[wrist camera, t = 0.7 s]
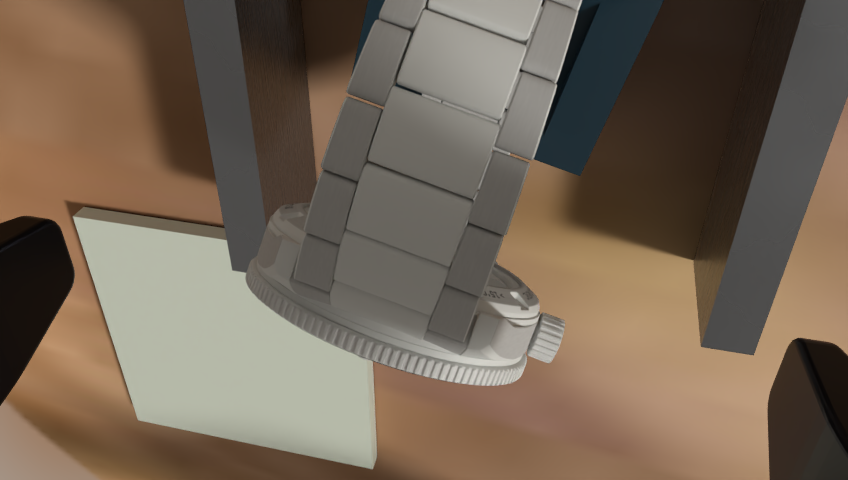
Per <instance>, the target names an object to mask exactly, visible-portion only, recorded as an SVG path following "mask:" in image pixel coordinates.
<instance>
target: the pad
mask: <svg viewBox="0 0 848 480" xmlns="http://www.w3.org/2000/svg"><path fill="white" fill-rule="evenodd" d="M73 219H74V222H75V225H76V228H77V231H78V234H79V238H80V241H81V244H82V247H83V250H84V253H85V256H86V259H87V263H88V266H89V269H90V272H91V275H92V278H93V281H94V284H95V288H96V291H97V294H98V297H99V300H100V303H101V306H102V309H103V312H104V316H105V319H106V322H107V325H108V328H109V331H110V334H111V337H112V341H113V344H114V347H115V350H116V353H117V356H118V359H119V362H120V366H121V369H122V372H123V375H124V378H125V381H126V384H127V387H128V390H129V394H130V397H131V400H132V403H133V406H134V409H135V412H136V415H137V419H138V420H139V421H144V422H149V423H153V424H158V425H163V426H168V427H173V428H177V429H182V430H187V431H192V432H197V433H201V434H206V435H211V436H216V437H220V438H225V439H230V440H235V441H240V442H244V443H249V444H254V445H259V446H263V447H268V448H273V449H278V450H283V451H287V452H292V453H297V454H302V455H307V456H311V457H316V458H321V459H326V460H330V461H335V462H340V463H345V464H350V465H354V466H359V467H364V468H369V469H373V467H374V464H375V462H376V459H377V442H376V421H375V399H374V378H373V361H371V360H370V361H368V360H364V359H362V358H360V357H359V356H358V355H356V354H353V353H350V352H348V351H346V350H343V349H341V348H339V347H336V346H334V345H332V344H330V343H328V342H326V341H323V340H321V339H319V338H317V337H315V336H313V335H311V334H310V333H308V332H306V331H304V330H302V329H300V328H299V327H297V326H295V325H293V324H292V323H290V322H289V321H287V320H285V319H284V318H282V317H281V316H279V315H278V314H276V313H275V312H274V311H272V310H271V309H270V308H268V307H267V306H266V305H265V304H263V303H262V302H261V301H260V300H259V299H258V298H257V297H256V296H255V295H254V294H253V293H252V292H251V291H250V289H249V288H248V286H247V283H246V280H245V279H246V278H245V277H246V273H244V272H238V271H232V267H231V261H230V256H229V250H228V244H227V239H226V233H225V228H220V227H214V226H207V225H200V224H194V223H187V222H181V221H174V220H167V219H161V218H154V217H148V216H141V215H134V214H128V213H121V212H115V211H108V210H101V209H95V208H88V207H83V208H82V209H81V210H79V211H78V212H77V213H76V214H75V215H74V216H73Z"/></svg>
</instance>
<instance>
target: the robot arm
mask: <svg viewBox="0 0 848 480" xmlns="http://www.w3.org/2000/svg"><path fill="white" fill-rule="evenodd" d="M74 277H75V272H74V267H73V264H72V261H71V258H70V255H69V252H68V249H67V246H66V243H65V240H64V237H63V234H62V231H61V228H60V227H59V225H58V224H57V223H56V222H55V221H52V220H50V219H45V218H39V217H33V216H21V217H17V218H15V219H12V220H9V221H6V222H3V223H0V406H1V404H2V403H3V401H4V400H5V399H6V397H7V396H8V394H9V393H10V391H11V390H12V388H13V387H14V386H15V384H16V383H17V381H18V379H19V378H20V376H21V374H22V373H23V371H24V370H25V368H26V366H27V365H28V363H29V361H30V359H31V358H32V356H33V354H34V353H35V351H36V349H37V347H38V346H39V344H40V342H41V340H42V339H43V337H44V335H45V334H46V332H47V330H48V328H49V327H50V325H51V323H52V321H53V320H54V318H55V316H56V315H57V313H58V311H59V309H60V308H61V306H62V304H63V302H64V301H65V299H66V297H67V296H68V294H69V292H70V290H71V288H72V286H73V283H74ZM768 440H769V472H770V480H848V355H847V354H846V353H845V352H844V351H843V350H842V349H841V348H839V347H838V346H837V345H835V344H833V343H830V342H824V341H817V340H811V339H805V338H797V339H795V340H793V341H792V342H791V343H790V344H789V346H788V348H787V350H786V353H785V355H784V358H783V360H782V363H781V365H780V368H779V370H778V373H777V375H776V378H775V380H774V383H773V386H772V388H771V391H770V395H769V400H768Z"/></svg>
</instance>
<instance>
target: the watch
mask: <svg viewBox="0 0 848 480" xmlns="http://www.w3.org/2000/svg"><path fill="white" fill-rule="evenodd" d="M663 1H664V0H368V4H367V9H366V13H365V18H364V22H363V27H362V31H361V36H360V40H359V45H358V49H357V54H356V58H355V63H354V67H353V72H352V76H351V79H350V81H349V84H348V87H347V93H348V94H350V95H353V96H356V97H359V98H361V99H364V100H367V101H370V102H372V103H375V104H378V105H381V106H384V109H383V110H382V109H381V108H378V107H375V106H372V105H370V104H367V103H364V102H362V101H359V100H356V99H353V98H351V97H346V98H345V100H344V102H343V104H342V107H341V110H340V112H339V115H338V118H337V121H336V123H335V126H334V129H333V132H332V134H331V137H330V140H329V143H328V146H327V149H326V152H325V155H324V158H323V161H322V164H321V167H322V169H323V170H322V171H321V173H320V175H319V178H318V181H317V184H316V187H315V191H314V194H313V197H312V201H311V203H297V204H287V205H283V206H281V207H280V208H279V209H278V210H277V211H276V212H275V213H274V214H273V215H272V216H271V217H270V220H269V223H268V225H267V227H266V230H265V233H264V236H263V239H262V242H261V245H260V248H259V251H258V255H257V256H256V257H255V258H253V259H252V260H251V261H250V264H249V267H248V270H247V273H246V277H245V278H246V279H245V280H246V283H247V286H248V288H249V289H250V291H251V292H252V293H253V294H254V295H255V296H256V297H257V298H258V299H259V300H260V301H261V302H262V303H263V304H265V305H266V306H267V307H268V308H270V309H271V310H272V311H274V312H275V313H276V314H278V315H279V316H281V317H282V318H284V319H285V320H287V321H289V322H290V323H292V324H293V325H295V326H297V327H299V328H300V329H302V330H304V331H306V332H308V333H310V334H311V335H313V336H315V337H317V338H319V339H321V340H323V341H326V342H328V343H330V344H332V345H334V346H336V347H339V348H341V349H343V350H346V351H348V352H350V353H353V354H356V355H358V356H359V357H360V358H362V359H364V360H368V361H370V360H371V361H374V362H377V363H380V364H383V365H386V366H389V367H392V368H395V369H398V370H402V371H405V372H409V373H412V374H416V375H420V376H424V377H428V378H433V379H438V380H442V381H448V382H454V383H461V384H470V385H485V386H489V385H490V386H494V385H503V384H509V383H512V382H515V381H516V380H518V379H519V378H520V377H521V375H522V373H523V370H524V368H525V365H526V362H527V357H526V354H525V352H526V350H527V355H528V356H530V357H533V358H536V359H538V360H541V361H544V362H546V363H550V362H551V361H552V359H553V358H554V356H555V354H556V352H557V350H558V348H559V346H560V343H561V340H562V336H563V332H564V327H565V321H564V320H562V319H560V318H557V317H554V316H552V315H549V314H546V313H542V314H541V315H540V312H539V309H540V307H539V299H538V298H537V296H536V295H535V294H534V293H533V292H532V291H531V290H530V289H529V288H528V287H527V286H526V285H525V284H524V283H523V282H522V281H521V280H520V279H519V278H518V277H517V276H515V275H514V274H513V273H511V272H510V271H508V270H506V269H505V268H503V267H501V266H499V265H498V264H497V262H496V258H497V255H498V252H499V249H500V246H501V244H502V241H503V237H504V235H506V234H507V231H508V228H509V226H510V223H511V220H512V217H513V214H514V211H515V208H516V205H517V202H518V199H519V196H520V193H521V190H522V187H523V184H524V181H525V178H526V175H527V172H528V169H529V166H530V164H529V162H526V161H523V160H520V159H518V158H515V157H512V156H510V153H512V154H515V155H518V156H520V157H523V158H526V159H529V160H533V159H535V160H537V161H540V162H543V163H546V164H548V165H551V166H554V167H557V168H559V169H562V170H565V171H568V172H570V173H573V174H576V175H579V176H580V175H581V173H582V171H583V169H584V166H585V164H586V162H587V160H588V158H589V156H590V154H591V152H592V150H593V148H594V146H595V143H596V141H597V139H598V137H599V135H600V133H601V131H602V129H603V127H604V125H605V123H606V120H607V118H608V116H609V114H610V112H611V110H612V108H613V106H614V104H615V102H616V100H617V97H618V95H619V93H620V91H621V89H622V87H623V85H624V83H625V81H626V79H627V77H628V74H629V72H630V70H631V68H632V66H633V64H634V62H635V60H636V58H637V56H638V54H639V51H640V49H641V47H642V45H643V43H644V41H645V39H646V37H647V35H648V33H649V30H650V28H651V26H652V24H653V22H654V20H655V18H656V16H657V14H658V12H659V10H660V7H661V5H662V3H663ZM492 150H494V151H493V152H492ZM368 161H369V162H368ZM375 163H376V164H375ZM383 166H384V167H383ZM527 348H528V349H527Z"/></svg>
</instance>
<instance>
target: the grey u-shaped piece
mask: <svg viewBox="0 0 848 480" xmlns="http://www.w3.org/2000/svg"><path fill="white" fill-rule="evenodd" d="M183 1H184V6H185V12H186V17H187V23H188V28H189V34H190V40H191V45H192V51H193V56H194V62H195V67H196V73H197V78H198V84H199V89H200V95H201V100H202V106H203V112H204V117H205V123H206V128H207V134H208V139H209V145H210V150H211V156H212V161H213V167H214V172H215V178H216V184H217V189H218V195H219V200H220V206H221V211H222V217H223V222H224V228H225V233H226V239H227V244H228V250H229V256H230V261H231V267H232V271H238V272H244V273H247V270H248V267H249V264H250V261H251V260H252V259H253V258H255V257H256V256H257V255H258V251H259V248H260V245H261V242H262V239H263V236H264V233H265V230H266V227H267V225H268V223H269V220H270V217H271V216H272V215H273V214H274V213H275V212H276V211H277V210H278V209H279V208H280V207H281V206H283V205H287V204H297V203H311V201H312V197H313V194H314V191H315V187H316V184H317V181H316V170H315V159H314V147H313V136H312V125H311V114H310V103H309V92H308V81H307V69H306V58H305V47H304V36H303V25H302V14H301V2H300V0H183ZM847 96H848V0H764V4H763V7H762V11H761V15H760V18H759V22H758V26H757V29H756V33H755V37H754V40H753V44H752V48H751V51H750V55H749V59H748V63H747V66H746V70H745V74H744V77H743V81H742V85H741V88H740V92H739V96H738V99H737V103H736V107H735V110H734V114H733V118H732V122H731V125H730V129H729V133H728V136H727V140H726V144H725V147H724V151H723V155H722V158H721V162H720V166H719V169H718V173H717V177H716V181H715V184H714V188H713V192H712V195H711V199H710V203H709V206H708V210H707V214H706V217H705V221H704V225H703V228H702V232H701V236H700V240H699V243H698V247H697V251H696V254H695V258H694V273H695V284H696V296H697V308H698V319H699V331H700V343H701V347H705V348H711V349H718V350H724V351H730V352H736V353H742V354H748V355H754V353H755V350H756V347H757V344H758V342H759V339H760V336H761V333H762V331H763V328H764V325H765V322H766V320H767V317H768V314H769V311H770V309H771V306H772V303H773V300H774V298H775V295H776V292H777V289H778V287H779V284H780V281H781V278H782V276H783V273H784V270H785V267H786V265H787V262H788V259H789V256H790V254H791V251H792V248H793V245H794V243H795V240H796V237H797V234H798V231H799V229H800V226H801V223H802V220H803V218H804V215H805V212H806V209H807V207H808V204H809V201H810V198H811V196H812V193H813V190H814V187H815V185H816V182H817V179H818V176H819V174H820V171H821V168H822V165H823V163H824V160H825V157H826V154H827V152H828V149H829V146H830V143H831V141H832V138H833V135H834V132H835V130H836V127H837V124H838V121H839V119H840V116H841V113H842V110H843V107H844V105H845V102H846V99H847Z"/></svg>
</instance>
